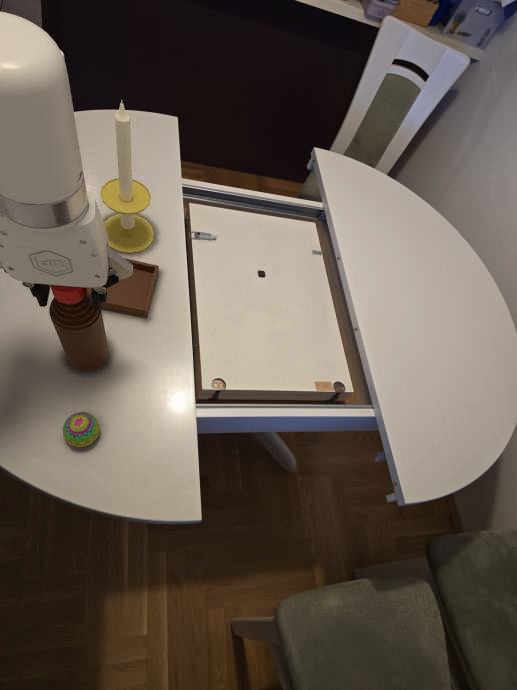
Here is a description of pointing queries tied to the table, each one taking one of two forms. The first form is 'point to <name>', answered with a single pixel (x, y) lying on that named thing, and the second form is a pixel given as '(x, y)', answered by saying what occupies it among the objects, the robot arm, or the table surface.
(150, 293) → the tray
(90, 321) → the bottle
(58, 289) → the cap
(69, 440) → the egg
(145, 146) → the table surface
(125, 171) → the candle
